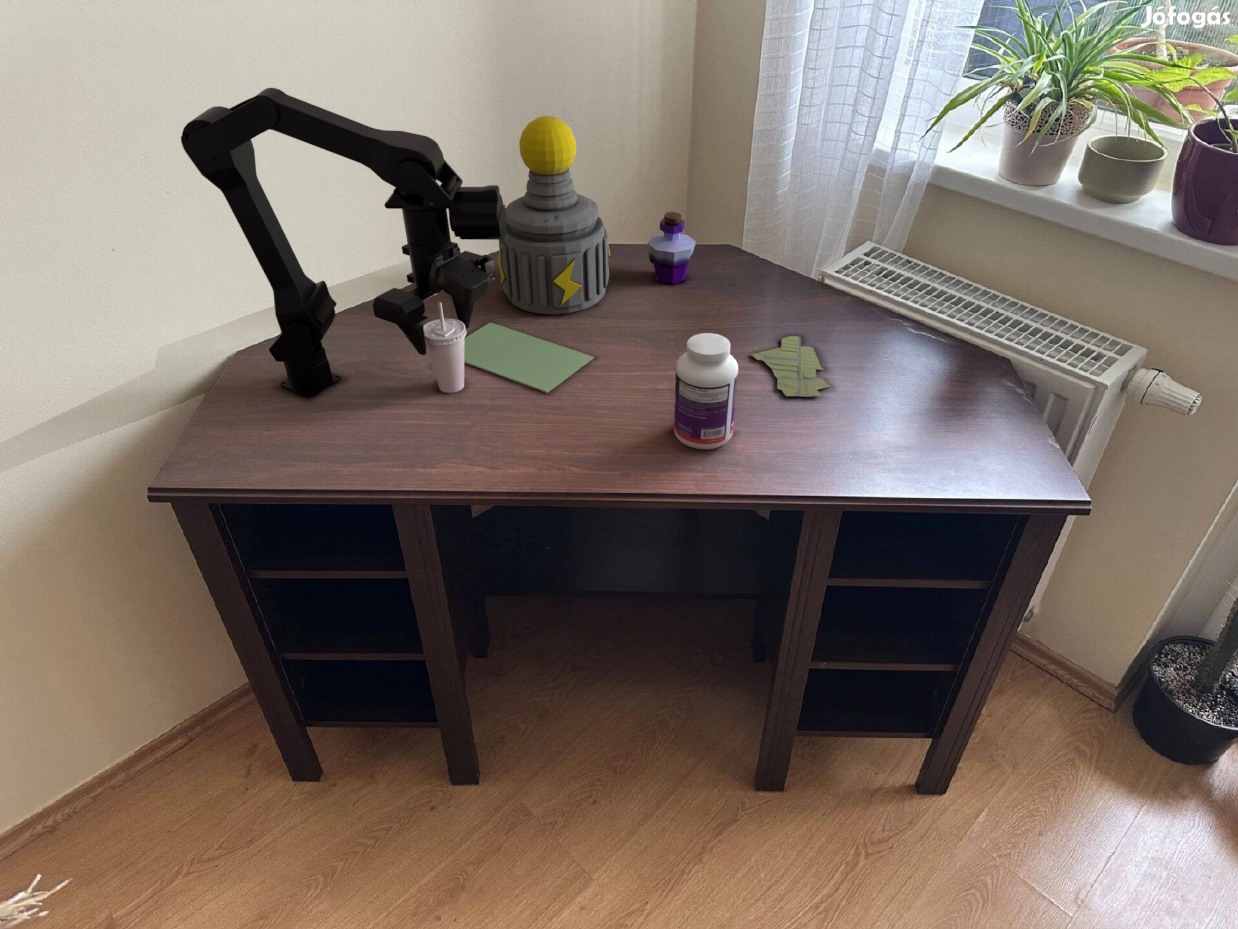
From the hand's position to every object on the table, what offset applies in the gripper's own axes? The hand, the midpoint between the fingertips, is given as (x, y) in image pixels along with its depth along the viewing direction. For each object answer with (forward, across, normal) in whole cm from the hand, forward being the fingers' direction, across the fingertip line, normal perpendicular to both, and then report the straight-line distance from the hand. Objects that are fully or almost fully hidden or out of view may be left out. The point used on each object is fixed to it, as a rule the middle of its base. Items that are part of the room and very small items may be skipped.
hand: (444, 341), depth 125 cm
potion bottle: (+8, +49, -9) cm, 50 cm away
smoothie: (+8, 0, 0) cm, 8 cm away
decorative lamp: (+8, +33, +5) cm, 34 cm away
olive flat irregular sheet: (+8, +32, -40) cm, 52 cm away
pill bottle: (+8, +9, -38) cm, 40 cm away
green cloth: (+8, +12, -3) cm, 14 cm away
